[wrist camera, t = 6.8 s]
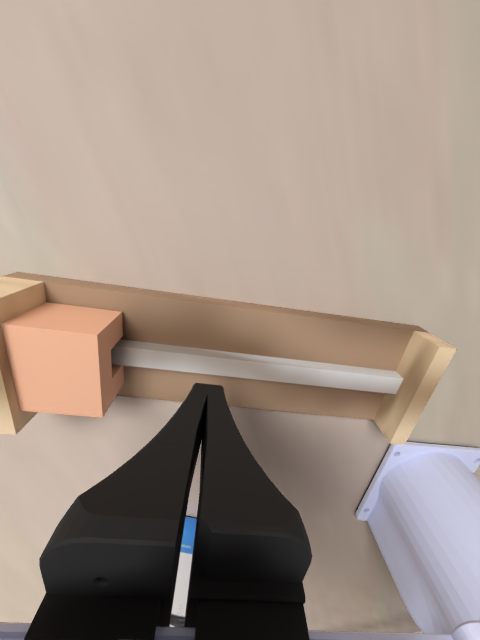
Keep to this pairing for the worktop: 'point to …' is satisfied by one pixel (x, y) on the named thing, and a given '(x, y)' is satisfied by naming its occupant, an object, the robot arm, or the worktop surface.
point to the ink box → (183, 574)
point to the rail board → (245, 353)
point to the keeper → (64, 358)
